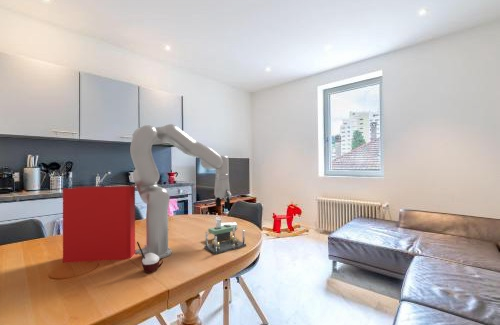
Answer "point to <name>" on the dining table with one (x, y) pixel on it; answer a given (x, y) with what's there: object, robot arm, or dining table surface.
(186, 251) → the dining table surface
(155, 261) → the cocoa
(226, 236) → the block
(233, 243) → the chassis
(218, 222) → the bracket
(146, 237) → the robot arm
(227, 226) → the board
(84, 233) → the book
